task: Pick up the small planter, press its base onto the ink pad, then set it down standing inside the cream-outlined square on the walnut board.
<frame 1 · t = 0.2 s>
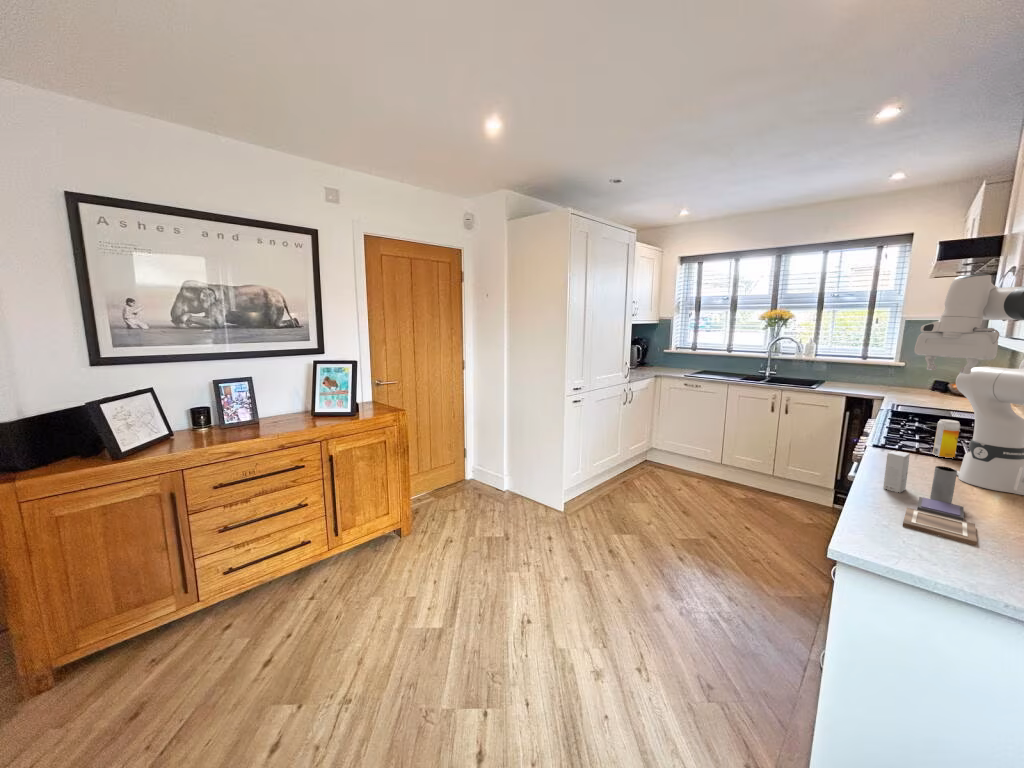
hand: (947, 371, 127), 38 cm above the countertop, tool pointing down, fingers open, 8 cm apart
marked board: (938, 526, 108), on the countertop
white and yellow box: (943, 457, 163), on the countertop
planter: (940, 501, 123), on the countertop
skincare box: (893, 489, 132), on the countertop
ink pad: (939, 510, 117), on the countertop
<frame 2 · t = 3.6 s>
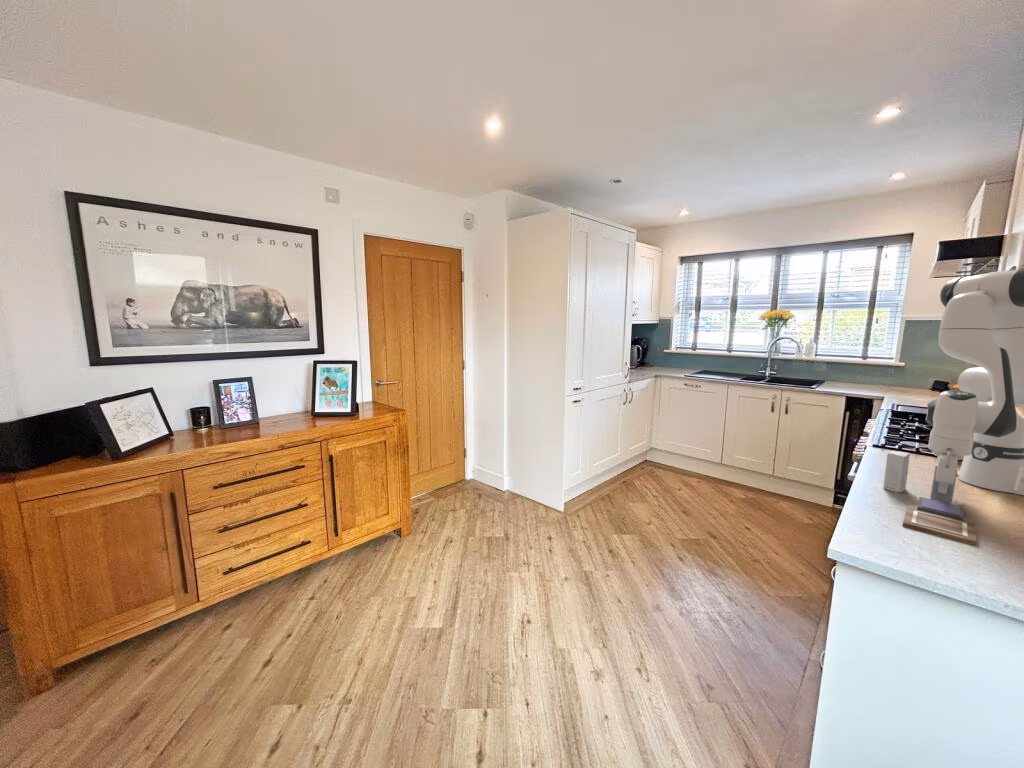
hand: (942, 489, 122), 4 cm above the countertop, tool pointing down, fingers closed on planter, 4 cm apart
planter: (940, 501, 123), on the countertop, touching gripper
everything else where it was.
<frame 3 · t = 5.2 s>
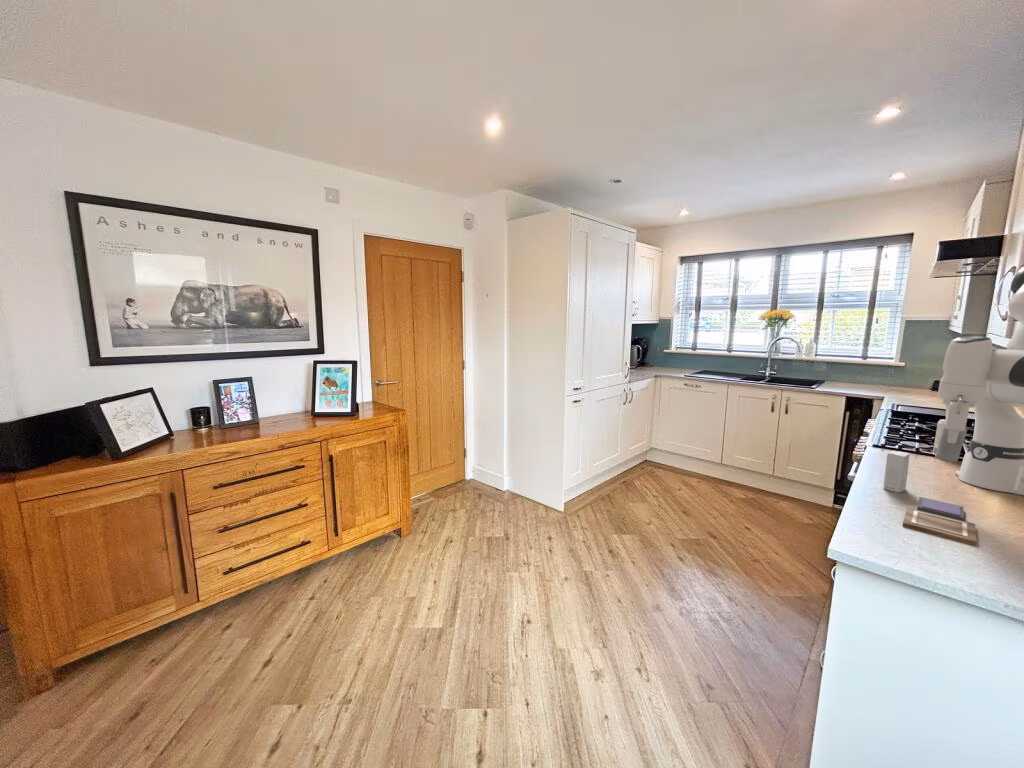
hand: (951, 440, 117), 20 cm above the countertop, tool pointing down, fingers closed on planter, 4 cm apart
planter: (945, 459, 118), point 14 cm above the countertop, touching gripper
everything else where it was.
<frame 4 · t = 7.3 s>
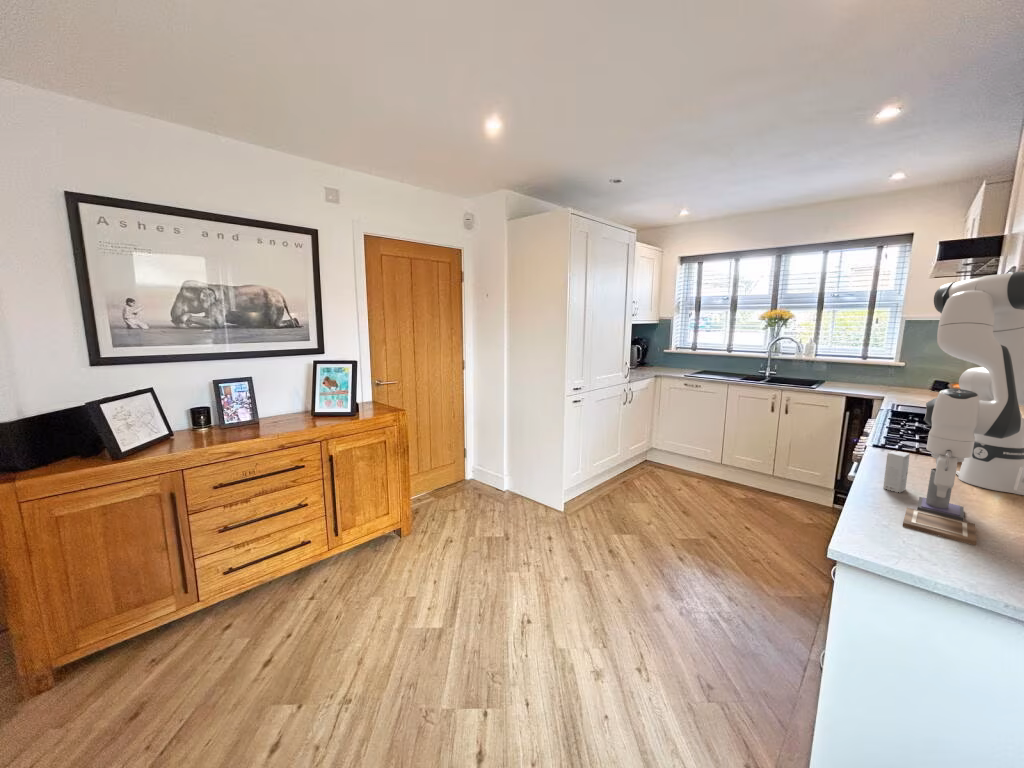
hand: (941, 493, 116), 5 cm above the countertop, tool pointing down, fingers closed on planter, 4 cm apart
planter: (936, 505, 117), point 1 cm above the countertop, touching gripper, ink pad
everything else where it was.
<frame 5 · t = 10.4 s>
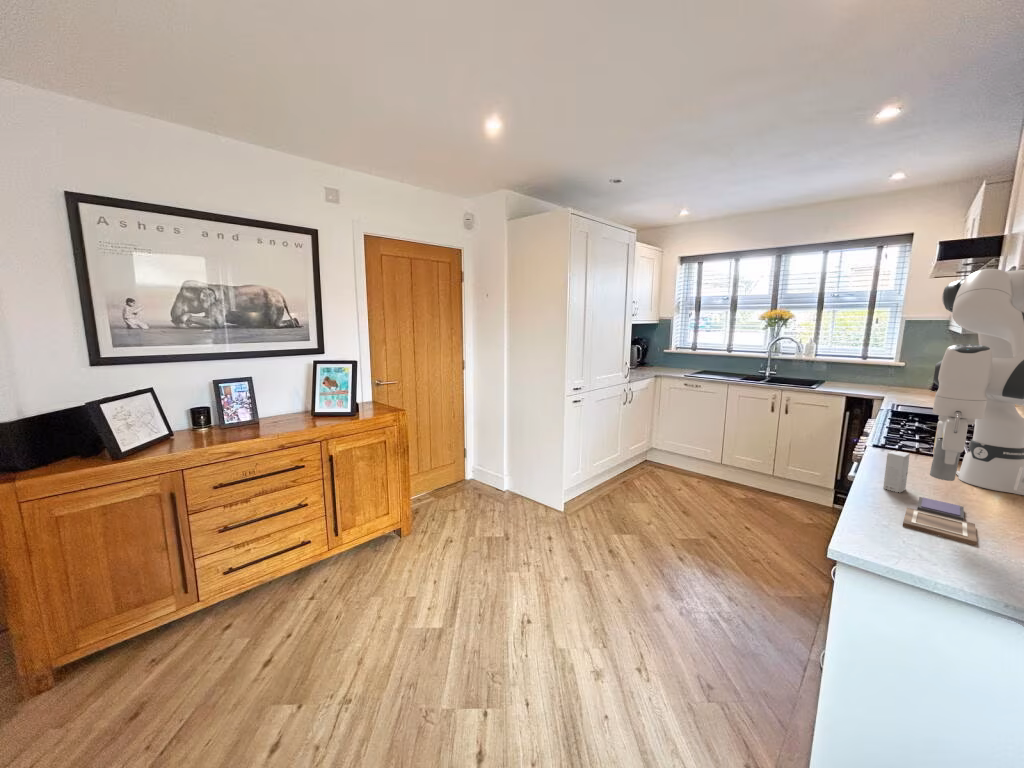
hand: (949, 460, 105), 18 cm above the countertop, tool pointing down, fingers closed on planter, 4 cm apart
planter: (941, 478, 106), point 13 cm above the countertop, touching gripper
everything else where it was.
when the fingers open (6 cm above the countertop, at t = 13.4 s): planter stays where it is, resting on marked board.
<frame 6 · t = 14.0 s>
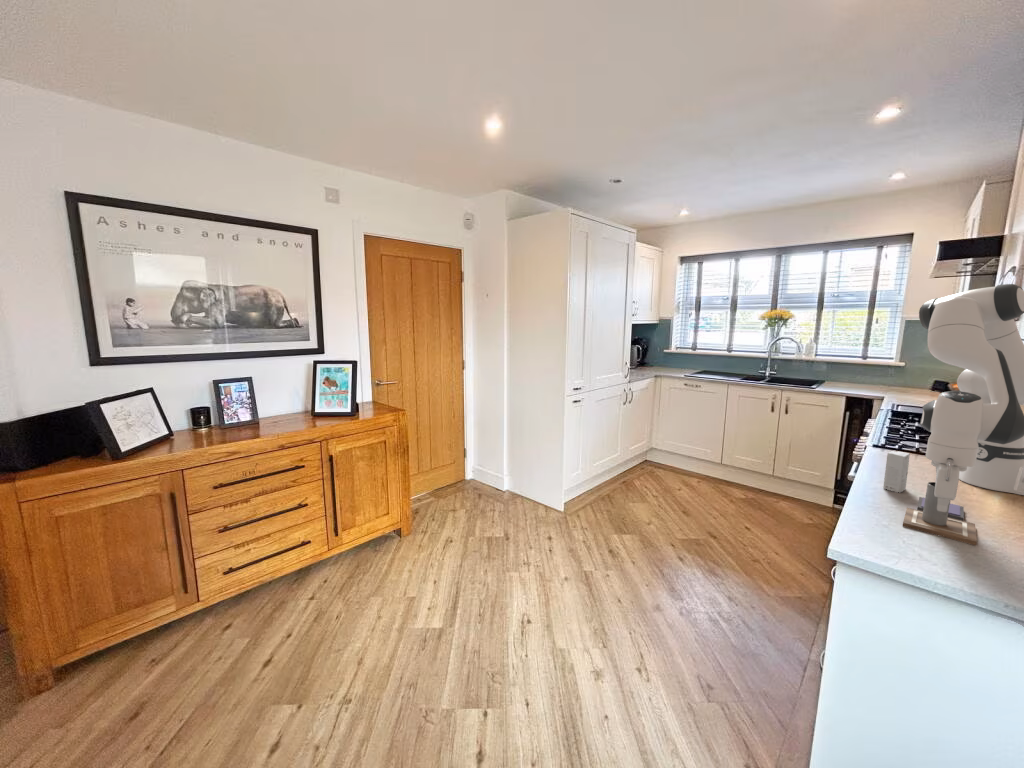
hand: (941, 505, 107), 6 cm above the countertop, tool pointing down, fingers open, 8 cm apart
planter: (933, 522, 108), point 1 cm above the countertop, touching marked board
everything else where it was.
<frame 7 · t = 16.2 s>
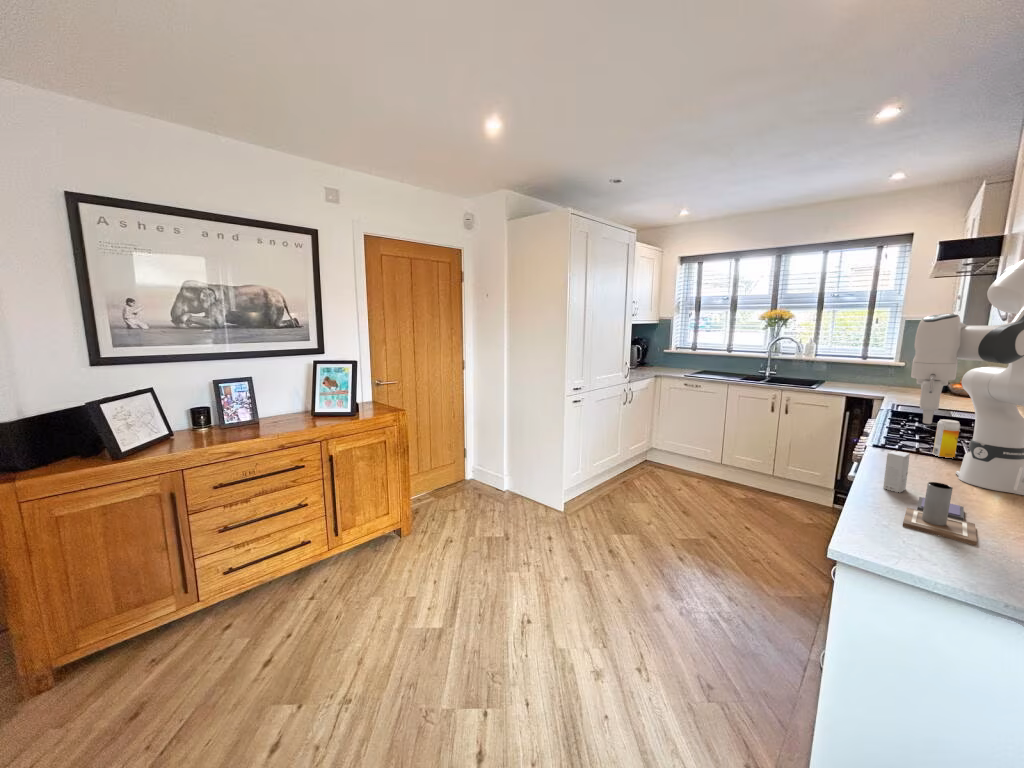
hand: (927, 420, 117), 26 cm above the countertop, tool pointing down, fingers open, 8 cm apart
nothing on the countertop moved.
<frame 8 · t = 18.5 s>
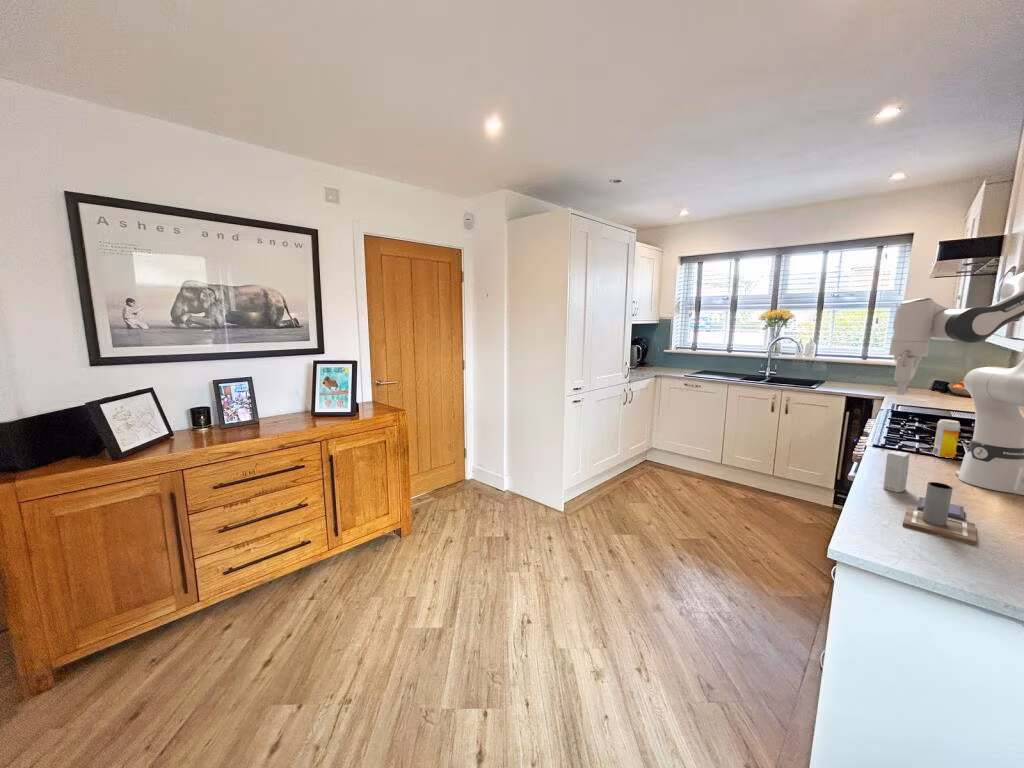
hand: (902, 392, 131), 31 cm above the countertop, tool pointing down, fingers open, 8 cm apart
nothing on the countertop moved.
at the end: planter 0.9 cm off-centre on the marked board, point 0.8 cm above the marked board's base; planter tilted 0°; the gripper is holding nothing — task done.
